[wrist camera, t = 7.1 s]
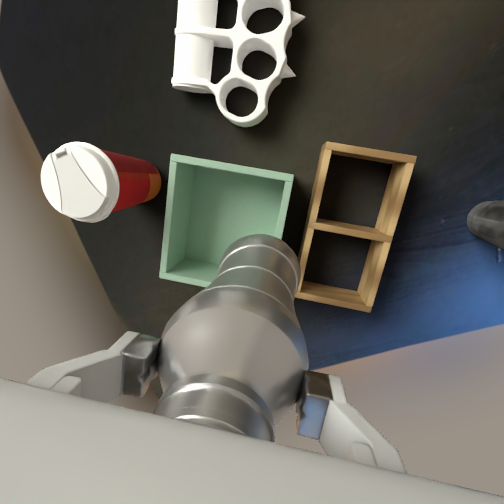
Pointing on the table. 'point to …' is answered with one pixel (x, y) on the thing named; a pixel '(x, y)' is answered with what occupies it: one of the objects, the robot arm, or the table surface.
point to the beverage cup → (488, 222)
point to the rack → (356, 227)
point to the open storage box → (216, 214)
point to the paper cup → (96, 181)
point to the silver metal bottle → (237, 344)
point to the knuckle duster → (242, 42)
